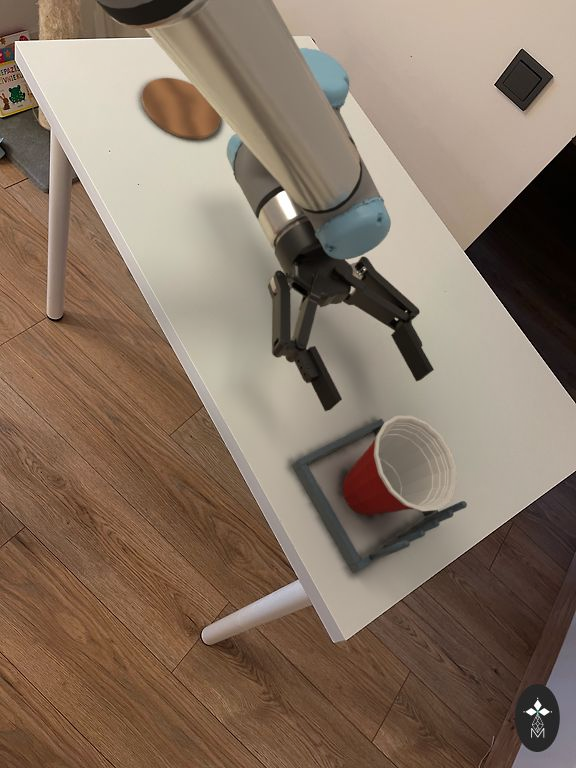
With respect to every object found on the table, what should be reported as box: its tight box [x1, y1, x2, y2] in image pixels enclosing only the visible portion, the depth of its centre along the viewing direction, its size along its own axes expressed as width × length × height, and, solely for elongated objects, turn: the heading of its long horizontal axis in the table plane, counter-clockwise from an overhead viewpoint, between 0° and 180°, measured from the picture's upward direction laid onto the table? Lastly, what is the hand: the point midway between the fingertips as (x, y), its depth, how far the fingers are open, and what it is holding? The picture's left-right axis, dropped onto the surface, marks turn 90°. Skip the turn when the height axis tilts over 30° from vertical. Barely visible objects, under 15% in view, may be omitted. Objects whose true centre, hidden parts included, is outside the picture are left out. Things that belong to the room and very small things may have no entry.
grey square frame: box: [291, 418, 468, 573], centre depth 70 cm, size 14×14×9 cm
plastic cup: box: [342, 415, 457, 516], centre depth 68 cm, size 11×11×12 cm
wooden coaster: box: [141, 77, 221, 140], centre depth 91 cm, size 12×12×1 cm
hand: (381, 390), depth 66 cm, fingers open, 13 cm apart
